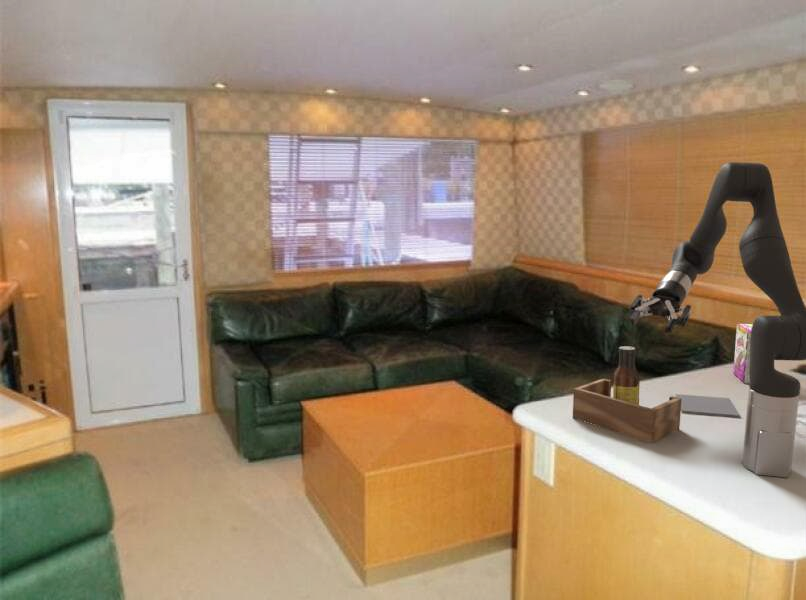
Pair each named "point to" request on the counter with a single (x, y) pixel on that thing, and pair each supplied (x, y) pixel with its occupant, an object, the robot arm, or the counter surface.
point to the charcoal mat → (707, 405)
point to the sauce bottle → (626, 377)
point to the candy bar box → (742, 352)
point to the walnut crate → (625, 413)
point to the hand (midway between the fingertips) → (649, 326)
